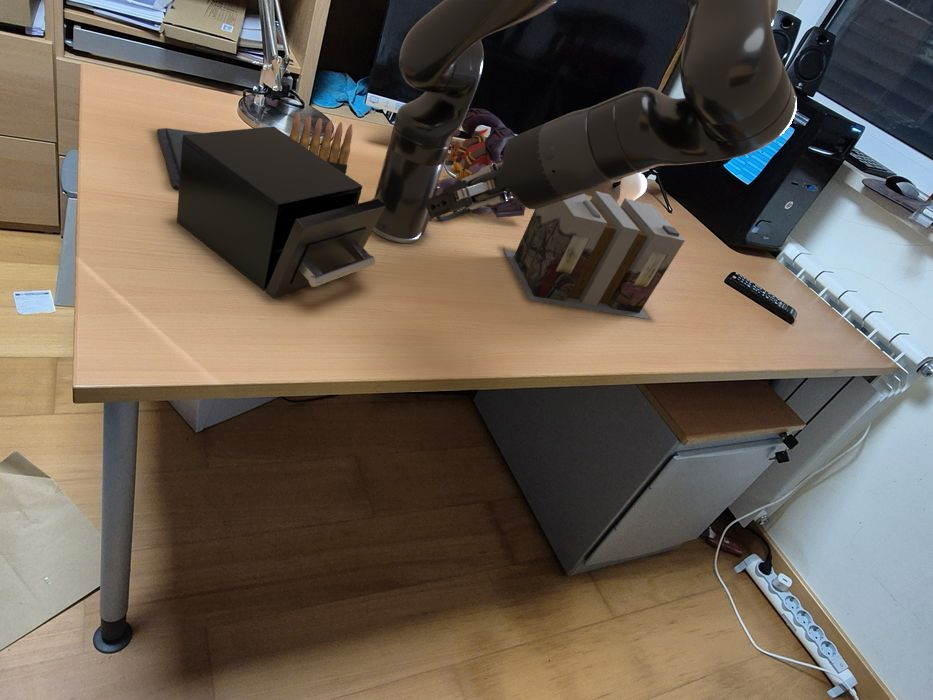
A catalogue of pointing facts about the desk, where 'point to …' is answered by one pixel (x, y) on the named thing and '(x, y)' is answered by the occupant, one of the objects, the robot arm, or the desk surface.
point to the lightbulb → (632, 187)
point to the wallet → (172, 151)
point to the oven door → (325, 247)
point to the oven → (254, 194)
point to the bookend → (595, 254)
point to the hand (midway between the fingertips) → (431, 208)
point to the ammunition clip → (324, 141)
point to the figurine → (481, 157)
